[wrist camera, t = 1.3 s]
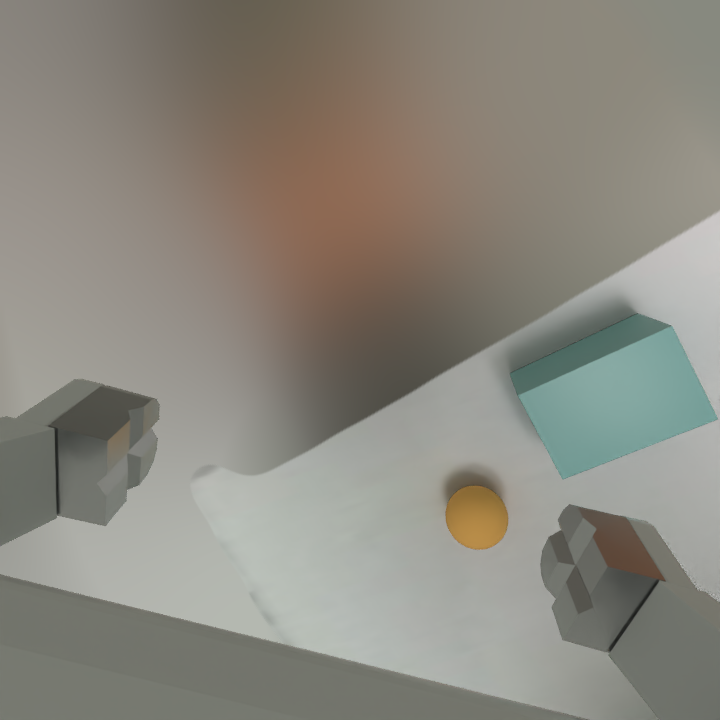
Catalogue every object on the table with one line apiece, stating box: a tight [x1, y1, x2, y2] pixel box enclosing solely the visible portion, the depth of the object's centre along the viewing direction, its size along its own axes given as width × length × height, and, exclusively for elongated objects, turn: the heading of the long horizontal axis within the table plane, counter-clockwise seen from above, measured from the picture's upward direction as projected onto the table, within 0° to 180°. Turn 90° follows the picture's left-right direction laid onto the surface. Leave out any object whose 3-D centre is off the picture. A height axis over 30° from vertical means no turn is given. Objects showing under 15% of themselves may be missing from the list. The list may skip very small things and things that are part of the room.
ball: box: [446, 486, 508, 550], centre depth 39 cm, size 5×5×5 cm
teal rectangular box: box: [510, 313, 718, 479], centre depth 34 cm, size 10×7×6 cm, turn 121°
